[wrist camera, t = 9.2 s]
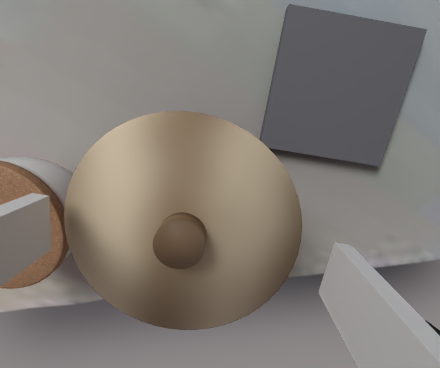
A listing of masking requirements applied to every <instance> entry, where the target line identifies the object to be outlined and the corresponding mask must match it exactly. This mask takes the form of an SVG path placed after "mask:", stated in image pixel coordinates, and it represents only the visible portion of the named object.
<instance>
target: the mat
mask: <svg viewBox="0 0 440 368" xmlns="http://www.w3.org/2000/svg"><path fill="white" fill-rule="evenodd" d="M426 31H427V29H421V28H416V27H411V26H405V25H400V24H394V23H389V22H384V21H378V20H373V19H367V18H362V17H357V16H351V15H346V14H341V13H335V12H330V11H324V10H319V9H314V8H308V7H303V6H297V5H292V4H289V5H288V7H287V9H286V13H285V18H284V23H283V27H282V32H281V37H280V42H279V47H278V52H277V57H276V62H275V67H274V72H273V77H272V82H271V86H270V91H269V96H268V101H267V106H266V111H265V116H264V121H263V126H262V131H261V136H260V141H261V142H262V143H264V144H265V145H266V146H267V147H268V148H272V149H278V150H284V151H290V152H296V153H302V154H308V155H314V156H320V157H326V158H332V159H338V160H344V161H350V162H356V163H362V164H368V165H374V166H380V165H381V162H382V160H383V157H384V154H385V151H386V148H387V145H388V142H389V139H390V136H391V133H392V130H393V127H394V125H395V122H396V119H397V116H398V113H399V110H400V107H401V104H402V101H403V98H404V95H405V92H406V90H407V87H408V84H409V81H410V78H411V75H412V72H413V69H414V66H415V63H416V60H417V58H418V55H419V52H420V49H421V46H422V43H423V40H424V37H425V34H426Z"/></svg>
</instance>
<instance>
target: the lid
mask: <svg viewBox="0 0 440 368" xmlns="http://www.w3.org/2000/svg"><path fill="white" fill-rule="evenodd" d="M64 224H65V232H66V237H67V242H68V245H69V248H70V251H71V254H72V257H73V259H74V261H75V263H76V264H77V266H78V268H79V270H80V272H81V273H82V275H83V276H84V278H85V279H86V280H87V282H88V283H89V284H90V285H91V286H92V287H93V289H94V290H95V291H96V292H97V293H98V294H99V295H100V296H101V297H103V298H104V299H105V300H106V301H107V302H109V303H110V304H111V305H113V306H114V307H115V308H117V309H119V310H120V311H122V312H124V313H125V314H127V315H129V316H131V317H133V318H135V319H138V320H140V321H142V322H146V323H148V324H152V325H155V326H159V327H165V328H169V329H179V330H198V329H207V328H213V327H217V326H221V325H225V324H227V323H231V322H233V321H236V320H238V319H240V318H242V317H244V316H247V315H248V314H250V313H252V312H253V311H255V310H256V309H258V308H259V307H261V306H262V305H263V304H264V303H265V302H267V301H268V300H269V299H270V298H271V297H272V296H273V295H274V294H275V293H276V292H277V291H278V289H279V288H280V287H281V286H282V284H283V283H284V281H285V280H286V279H287V277H288V275H289V273H290V271H291V270H292V268H293V266H294V263H295V260H296V257H297V255H298V251H299V246H300V242H301V232H302V219H301V209H300V204H299V200H298V196H297V193H296V190H295V188H294V185H293V182H292V180H291V179H290V177H289V175H288V173H287V171H286V169H285V168H284V166H283V165H282V164H281V162H280V161H279V160H278V158H277V157H276V156H275V154H274V153H273V152H272V151H271V150H270V149H269V148H268V147H267V146H266V145H265V144H264V143H262V142H261V141H260V140H259V139H257V138H256V137H255V136H253V135H252V134H251V133H249V132H248V131H246V130H244V129H242V128H241V127H239V126H237V125H235V124H233V123H231V122H228V121H226V120H223V119H221V118H218V117H214V116H210V115H206V114H203V113H196V112H187V111H166V112H160V113H154V114H148V115H145V116H142V117H138V118H135V119H132V120H130V121H128V122H126V123H124V124H121V125H119V126H117V127H116V128H114V129H113V130H111V131H110V132H108V133H107V134H105V135H104V136H103V137H101V138H100V139H99V140H98V141H97V142H96V143H95V144H94V145H93V146H92V147H91V148H90V149H89V150H88V152H87V153H86V154H85V155H84V156H83V158H82V159H81V161H80V162H79V164H78V166H77V168H76V169H75V171H74V173H73V176H72V178H71V181H70V183H69V186H68V190H67V194H66V198H65V208H64Z"/></svg>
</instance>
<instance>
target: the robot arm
mask: <svg viewBox="0 0 440 368" xmlns="http://www.w3.org/2000/svg"><path fill="white" fill-rule="evenodd" d="M49 250H51V240H50V206H49V196H48V195H42V194H35V193H31V194H28V195H26V196H23V197H20V198H18V199H15V200H12V201H10V202H7V203H4V204H2V205H0V286H2V285H3V284H4V283H6V282H7V281H9V280H10V279H11V278H13V277H14V276H15V275H17V274H18V273H19V272H21V271H22V270H24V269H25V268H26V267H28V266H29V265H30V264H32V263H33V262H34V261H36V260H37V259H39V258H40V257H41V256H43V255H44V254H45V253H47V252H48V251H49ZM319 295H320V297H321V298H322V301H323V302H324V304H325V306H326V308H327V310H328V312H329V314H330V316H331V318H332V319H333V321H334V323H335V325H336V327H337V329H338V331H339V333H340V335H341V337H342V339H343V341H344V343H345V345H346V346H347V348H348V350H349V352H350V354H351V356H352V358H353V360H354V362H355V364H356V366H357V367H358V368H440V330H438V329H437V328H436V327H434V326H433V325H432V324H430V323H429V322H427V321H425V320H424V319H423V318H422V317H421V316H420V315H419V314H418V313H417V312H416V311H415V310H414V309H413V308H412V307H411V306H410V305H409V304H408V303H407V302H406V301H405V300H404V299H403V298H402V297H401V296H400V295H399V294H398V293H397V292H396V291H395V290H394V289H393V288H392V287H391V286H390V285H389V284H388V282H387V281H386V280H385V279H384V278H382V277H381V275H380V274H379V273H378V272H377V271H376V270H375V269H374V268H373V267H372V266H371V265H370V264H369V263H368V262H367V261H366V260H365V259H364V258H363V257H362V256H361V255H360V254H359V253H358V252H357V251H356V250H355V249H354V248H353V247H352V246H351V245H347V244H341V243H335V242H334V246H333V249H332V252H331V255H330V258H329V261H328V264H327V267H326V270H325V273H324V277H323V280H322V283H321V286H320V289H319Z"/></svg>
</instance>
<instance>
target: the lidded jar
mask: <svg viewBox="0 0 440 368" xmlns="http://www.w3.org/2000/svg"><path fill="white" fill-rule="evenodd" d="M72 176H73V174H72V173H71V172H69V171H68V170H66V169H65V168H64V167H62V166H60V165H58V164H55V163H52V162H50V161H46V160H43V159H38V158H30V157H4V158H0V205H2V204H4V203H7V202H10V201H12V200H15V199H18V198H20V197H23V196H26V195H28V194H31V193H35V194H42V195H48V196H49V206H50V240H51V250H49V251H48V252H47V253H45V254H44V255H43V256H41V257H40V258H39V259H37V260H36V261H34V262H33V263H32V264H30V265H29V266H28V267H26V268H25V269H24V270H22V271H21V272H19V273H18V274H17V275H15V276H14V277H13V278H11V279H10V280H9V281H7V282H6V283H4V284H3V285H2V286H0V288H22V287H26V286H30V285H33V284H36V283H38V282H40V281H42V280H43V279H45V278H46V277H48V276H49V275H50V274H51V273H52V272H53V271H54V270H55V269H56V268H58V267H59V265H60V264H61V263H62V262H63V261H64V260H65V259H66V258H67V257H68V256H69V255H70V254H71V251H70V248H69V245H68V242H67V237H66V232H65V224H64V208H65V198H66V194H67V190H68V186H69V183H70V181H71V178H72Z"/></svg>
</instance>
